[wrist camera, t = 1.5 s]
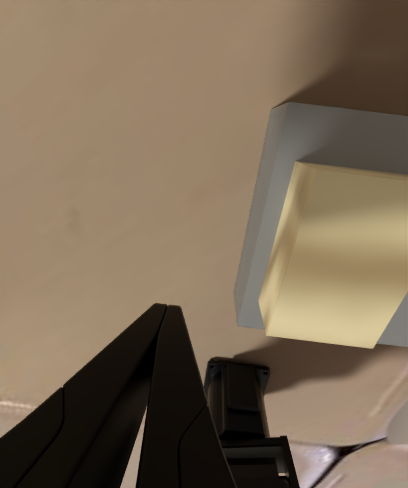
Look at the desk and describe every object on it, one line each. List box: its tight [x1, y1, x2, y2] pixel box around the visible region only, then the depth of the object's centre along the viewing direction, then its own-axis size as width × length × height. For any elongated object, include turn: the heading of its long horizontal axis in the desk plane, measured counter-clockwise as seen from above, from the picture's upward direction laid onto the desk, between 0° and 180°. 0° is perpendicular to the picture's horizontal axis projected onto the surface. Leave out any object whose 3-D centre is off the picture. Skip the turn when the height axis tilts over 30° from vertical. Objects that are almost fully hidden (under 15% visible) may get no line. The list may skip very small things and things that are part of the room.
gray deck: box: [234, 102, 408, 347], centre depth 16 cm, size 14×16×4 cm
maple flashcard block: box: [258, 161, 408, 349], centre depth 12 cm, size 9×6×3 cm, turn 174°
